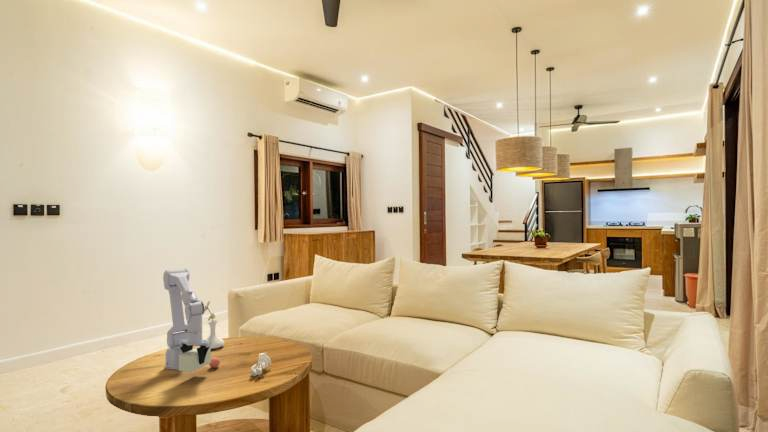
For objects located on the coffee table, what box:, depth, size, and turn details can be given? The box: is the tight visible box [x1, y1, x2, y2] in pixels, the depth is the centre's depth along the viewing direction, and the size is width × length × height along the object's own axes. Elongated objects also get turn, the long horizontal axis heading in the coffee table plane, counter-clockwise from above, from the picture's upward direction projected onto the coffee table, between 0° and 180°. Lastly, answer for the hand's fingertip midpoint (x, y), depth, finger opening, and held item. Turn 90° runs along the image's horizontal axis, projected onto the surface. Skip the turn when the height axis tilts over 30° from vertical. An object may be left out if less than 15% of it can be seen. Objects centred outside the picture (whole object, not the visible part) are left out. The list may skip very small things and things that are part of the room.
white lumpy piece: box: [250, 351, 272, 377], centre depth 179 cm, size 8×6×12 cm
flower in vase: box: [201, 300, 225, 350], centre depth 212 cm, size 13×11×25 cm
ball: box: [208, 357, 221, 369], centre depth 185 cm, size 4×4×4 cm
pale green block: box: [178, 346, 212, 373], centre depth 173 cm, size 6×12×7 cm, turn 164°
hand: (195, 362), depth 173 cm, fingers closed on pale green block, 6 cm apart
